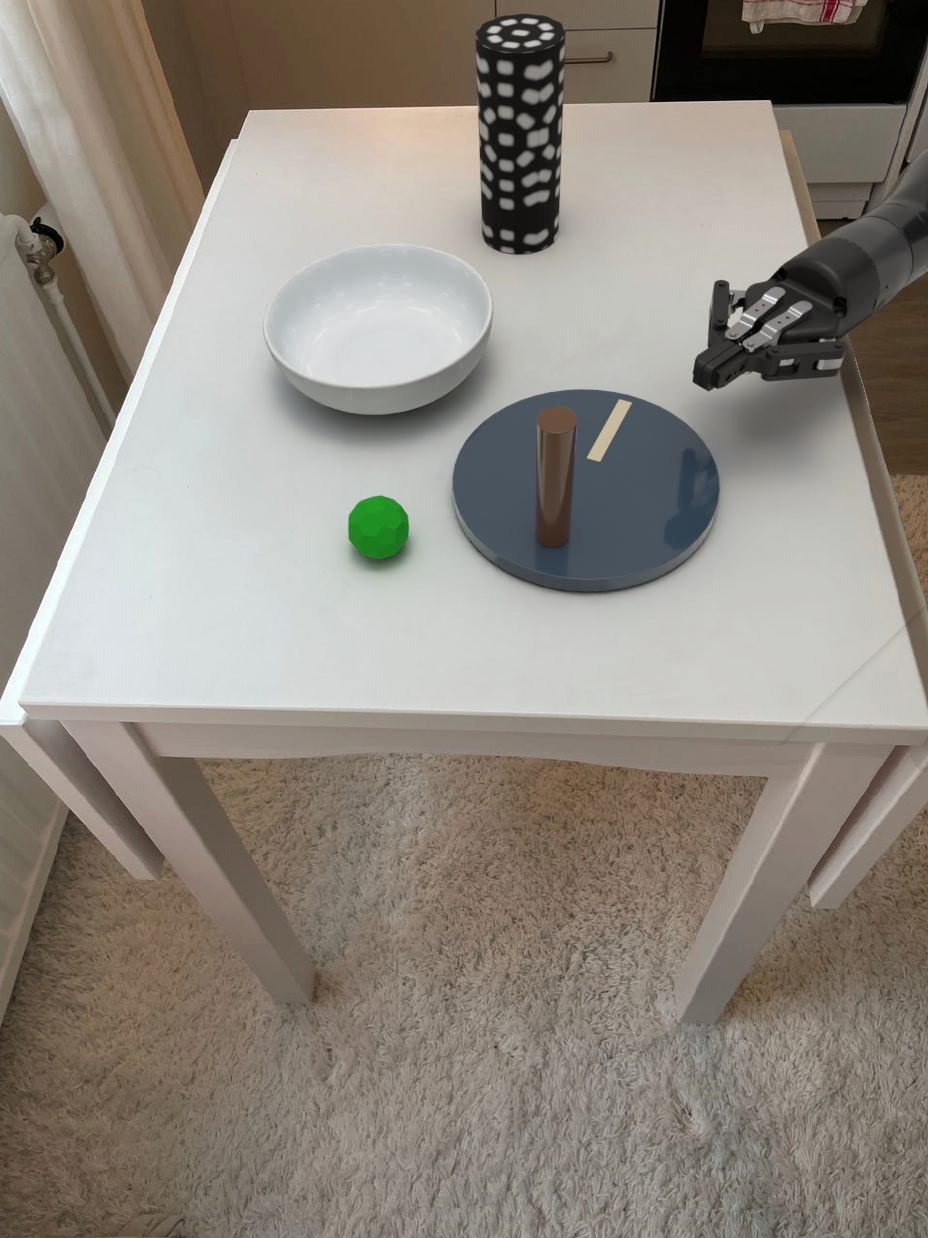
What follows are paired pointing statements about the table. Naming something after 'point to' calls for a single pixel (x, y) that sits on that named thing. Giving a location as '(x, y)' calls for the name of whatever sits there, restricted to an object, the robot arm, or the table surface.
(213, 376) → the table surface
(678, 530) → the peg stand
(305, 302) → the serving bowl
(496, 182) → the spotted tube
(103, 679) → the table surface
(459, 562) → the table surface
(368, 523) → the polyhedron
